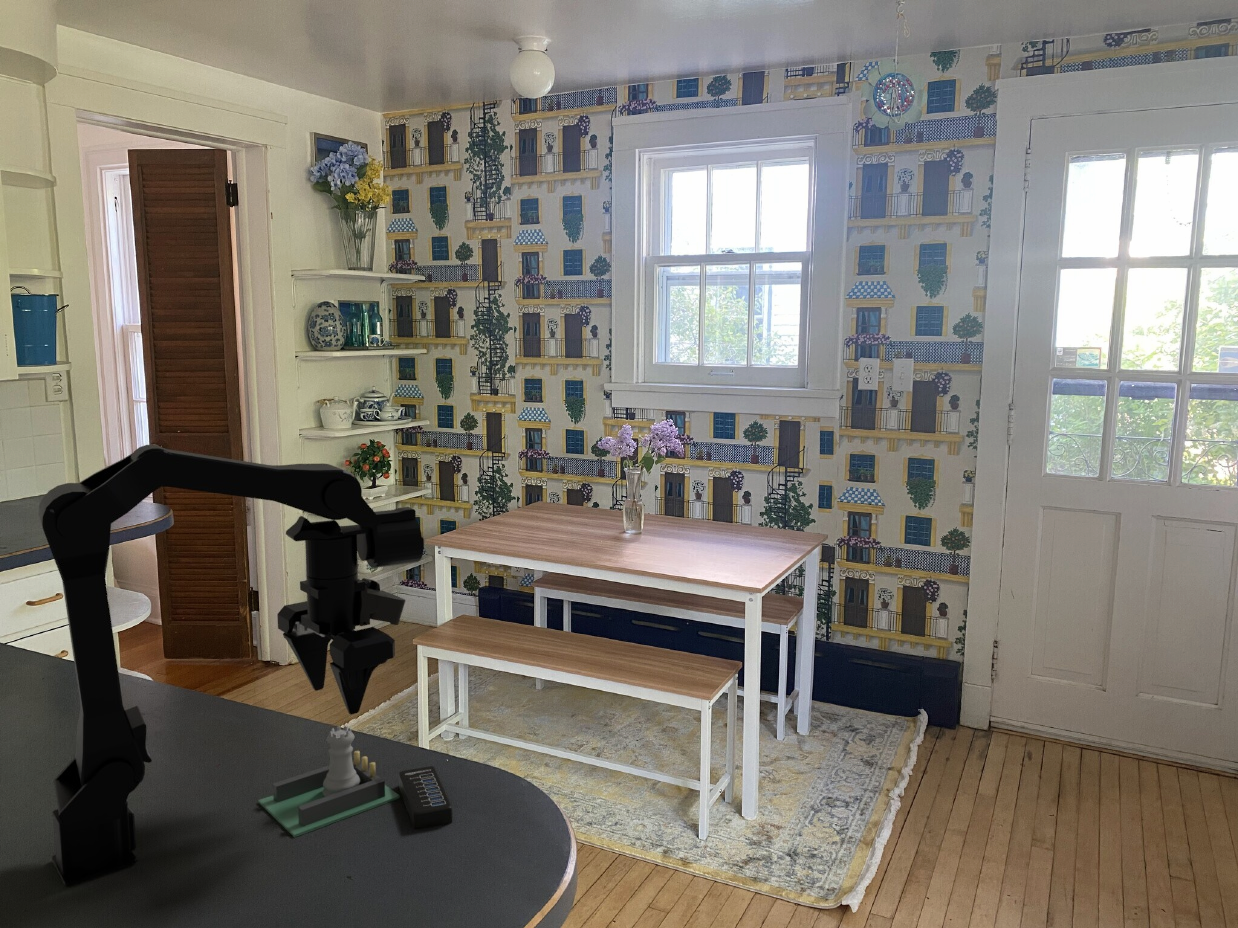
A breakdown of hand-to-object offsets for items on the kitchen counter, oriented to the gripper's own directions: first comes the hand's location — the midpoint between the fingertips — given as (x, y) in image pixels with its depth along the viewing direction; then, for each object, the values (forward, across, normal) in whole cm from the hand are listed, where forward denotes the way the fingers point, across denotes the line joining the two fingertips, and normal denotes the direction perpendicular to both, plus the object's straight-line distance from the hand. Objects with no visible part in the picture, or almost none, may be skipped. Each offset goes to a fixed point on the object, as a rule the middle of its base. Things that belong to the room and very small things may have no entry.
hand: (335, 700), depth 107 cm
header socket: (+12, 0, +1) cm, 12 cm away
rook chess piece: (+12, 0, 0) cm, 12 cm away
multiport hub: (+12, -8, -7) cm, 17 cm away
